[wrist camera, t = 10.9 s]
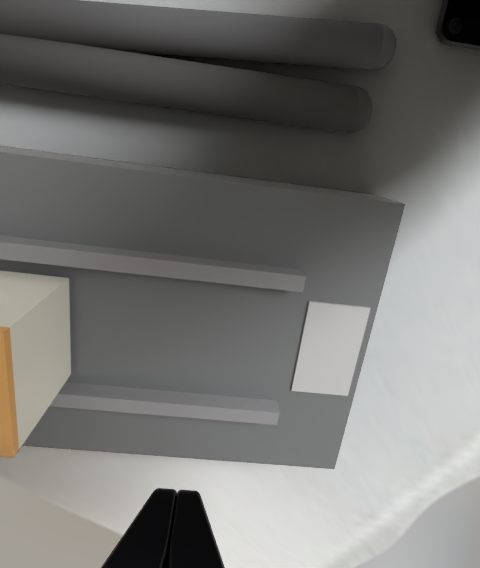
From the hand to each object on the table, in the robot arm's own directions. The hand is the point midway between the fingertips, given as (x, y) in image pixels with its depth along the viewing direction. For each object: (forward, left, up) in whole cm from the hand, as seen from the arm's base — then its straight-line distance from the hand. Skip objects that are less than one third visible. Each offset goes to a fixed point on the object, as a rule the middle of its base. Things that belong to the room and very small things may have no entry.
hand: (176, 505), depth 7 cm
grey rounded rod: (+2, -8, -11) cm, 14 cm away
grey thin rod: (+1, -10, -11) cm, 15 cm away
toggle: (+6, +1, -8) cm, 10 cm away
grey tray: (+2, +1, -11) cm, 11 cm away
